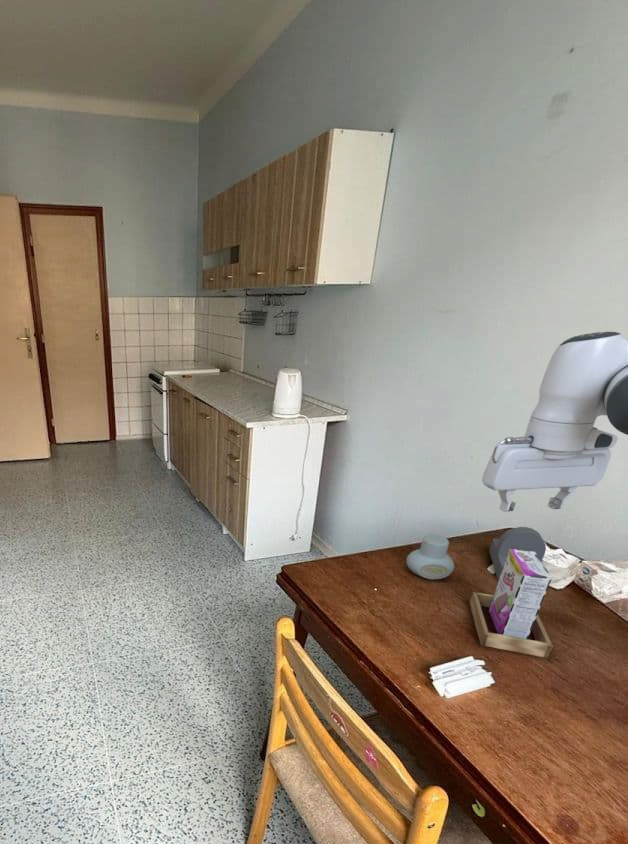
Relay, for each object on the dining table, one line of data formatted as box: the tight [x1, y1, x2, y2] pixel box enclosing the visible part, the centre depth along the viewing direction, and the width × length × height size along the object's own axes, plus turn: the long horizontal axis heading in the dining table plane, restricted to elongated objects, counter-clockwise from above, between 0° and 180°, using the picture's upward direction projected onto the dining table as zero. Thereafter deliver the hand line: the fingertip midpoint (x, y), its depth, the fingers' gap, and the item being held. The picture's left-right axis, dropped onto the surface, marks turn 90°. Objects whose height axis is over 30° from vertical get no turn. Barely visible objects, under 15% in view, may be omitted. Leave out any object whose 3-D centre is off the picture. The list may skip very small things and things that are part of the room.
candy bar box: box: [488, 549, 553, 640], centre depth 98 cm, size 11×5×16 cm, turn 161°
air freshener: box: [406, 534, 455, 581], centre depth 120 cm, size 11×8×10 cm
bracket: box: [489, 526, 547, 580], centre depth 122 cm, size 10×18×11 cm, turn 156°
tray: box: [468, 591, 554, 659], centre depth 101 cm, size 12×17×3 cm
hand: (530, 509), depth 88 cm, fingers open, 8 cm apart
